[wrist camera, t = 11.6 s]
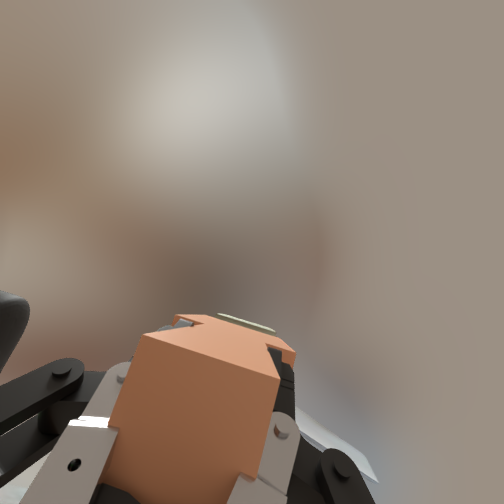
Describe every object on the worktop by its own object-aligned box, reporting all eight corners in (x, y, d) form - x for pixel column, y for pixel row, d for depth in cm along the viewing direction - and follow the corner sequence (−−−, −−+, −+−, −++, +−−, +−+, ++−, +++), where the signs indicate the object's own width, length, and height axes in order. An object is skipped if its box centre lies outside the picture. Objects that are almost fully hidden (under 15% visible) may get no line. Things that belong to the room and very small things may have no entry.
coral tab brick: (321, 598, 5) (354, 403, 6) (3, 472, 6) (77, 313, 7) (268, 379, 24) (279, 338, 25) (191, 354, 24) (205, 314, 25)
